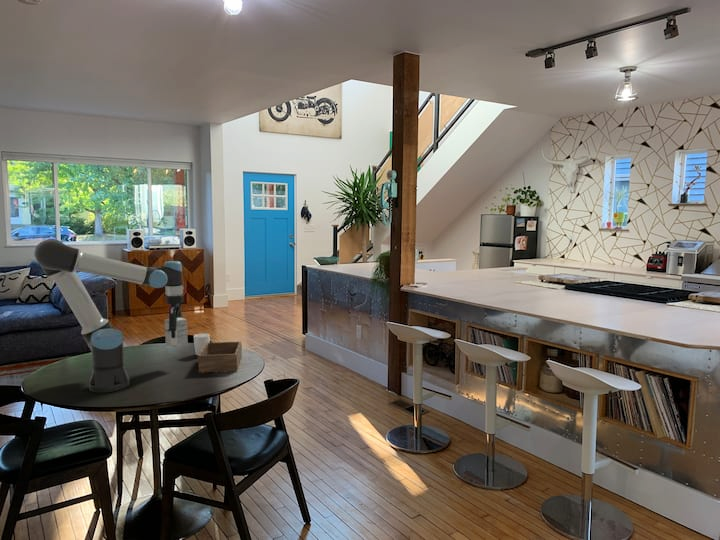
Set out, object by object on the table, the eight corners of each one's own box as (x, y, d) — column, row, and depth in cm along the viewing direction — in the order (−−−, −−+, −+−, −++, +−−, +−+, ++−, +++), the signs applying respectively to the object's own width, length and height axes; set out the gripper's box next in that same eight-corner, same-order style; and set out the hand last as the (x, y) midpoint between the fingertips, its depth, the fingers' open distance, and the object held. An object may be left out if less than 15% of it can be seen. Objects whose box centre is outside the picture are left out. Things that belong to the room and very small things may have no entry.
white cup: (211, 355, 262) (210, 336, 261) (194, 357, 259) (194, 337, 258) (209, 351, 269) (209, 333, 268) (193, 353, 266) (193, 334, 265)
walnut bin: (237, 371, 235) (236, 354, 234) (198, 373, 233) (198, 355, 232) (241, 357, 259) (241, 341, 258) (207, 358, 257) (206, 342, 256)
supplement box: (165, 345, 240) (163, 319, 239) (179, 342, 246) (178, 316, 245) (174, 348, 236) (173, 321, 235) (188, 344, 242) (187, 318, 240)
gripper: (177, 298, 228) (179, 347, 230) (187, 290, 250) (189, 335, 253) (160, 298, 227) (162, 348, 229) (171, 291, 249) (173, 336, 252)
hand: (176, 341), depth 241 cm, fingers closed on supplement box, 10 cm apart
